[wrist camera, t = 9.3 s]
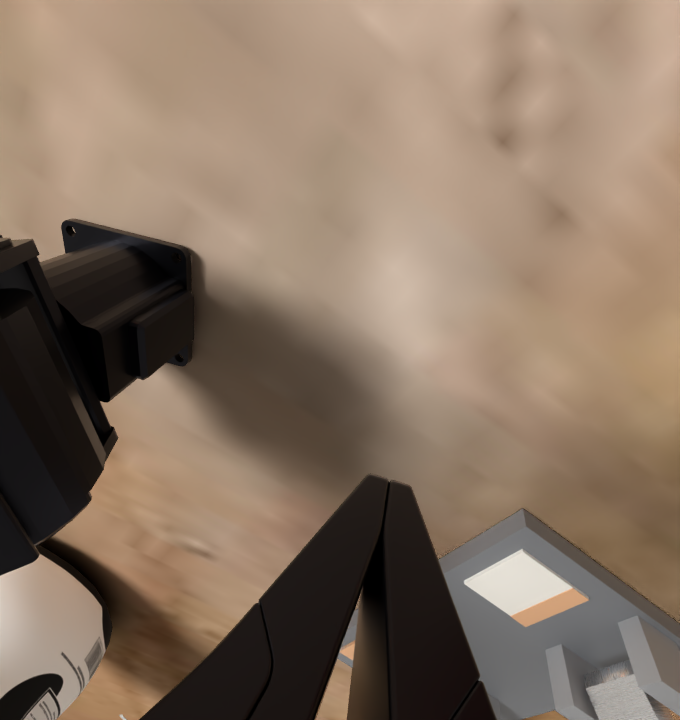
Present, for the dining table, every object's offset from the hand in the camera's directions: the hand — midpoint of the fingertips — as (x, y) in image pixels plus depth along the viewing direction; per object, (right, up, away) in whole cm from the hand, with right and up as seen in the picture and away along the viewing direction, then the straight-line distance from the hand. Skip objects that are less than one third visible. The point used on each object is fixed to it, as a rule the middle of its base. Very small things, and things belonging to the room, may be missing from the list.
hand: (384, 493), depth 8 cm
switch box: (+9, -16, +21) cm, 28 cm away
